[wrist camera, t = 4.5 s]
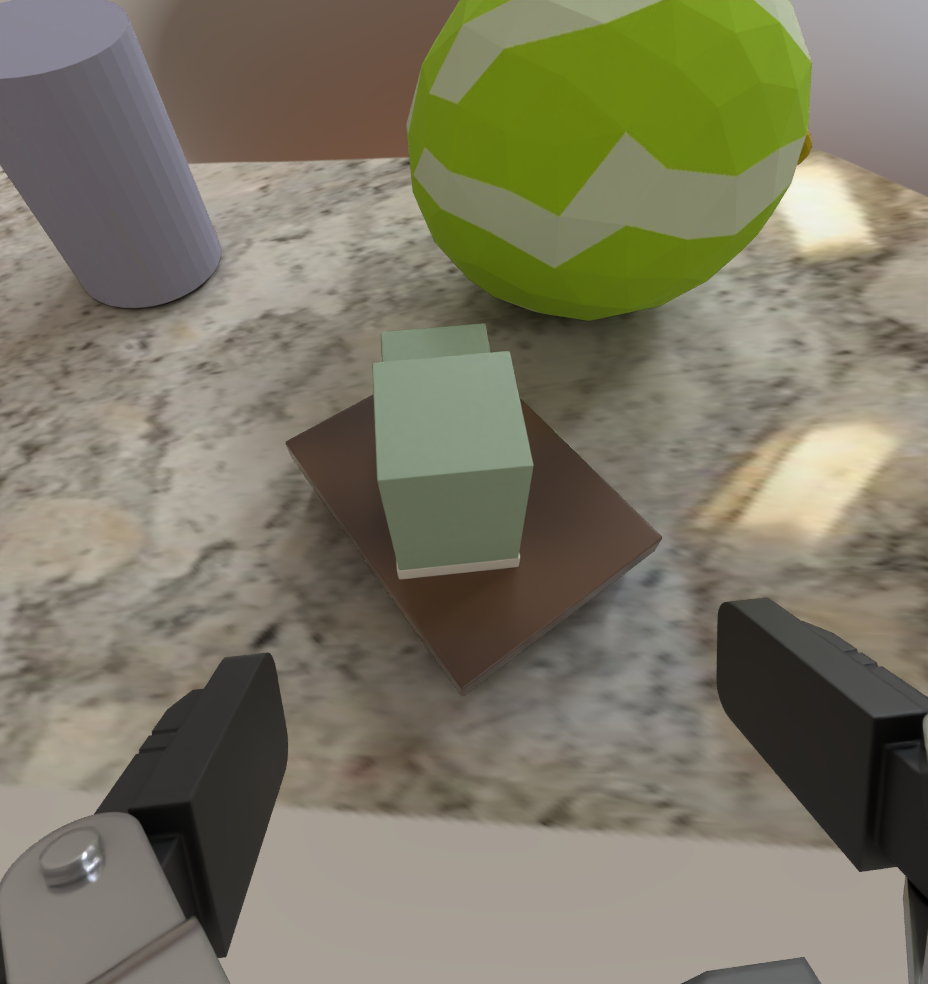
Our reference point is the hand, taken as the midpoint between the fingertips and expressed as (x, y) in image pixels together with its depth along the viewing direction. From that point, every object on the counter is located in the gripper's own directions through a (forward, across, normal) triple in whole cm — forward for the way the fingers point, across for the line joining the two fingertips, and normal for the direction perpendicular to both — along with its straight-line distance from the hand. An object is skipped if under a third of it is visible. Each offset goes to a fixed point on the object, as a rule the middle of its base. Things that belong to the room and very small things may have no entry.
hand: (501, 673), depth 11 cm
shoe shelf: (+22, -1, +4) cm, 23 cm away
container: (+40, +20, -14) cm, 47 cm away
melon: (+36, -12, -9) cm, 39 cm away
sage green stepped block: (+21, 0, 0) cm, 21 cm away
